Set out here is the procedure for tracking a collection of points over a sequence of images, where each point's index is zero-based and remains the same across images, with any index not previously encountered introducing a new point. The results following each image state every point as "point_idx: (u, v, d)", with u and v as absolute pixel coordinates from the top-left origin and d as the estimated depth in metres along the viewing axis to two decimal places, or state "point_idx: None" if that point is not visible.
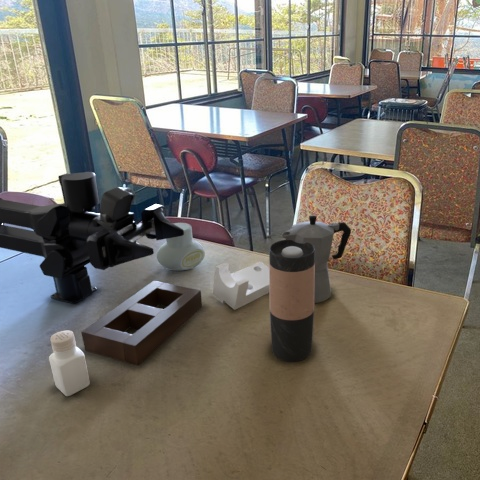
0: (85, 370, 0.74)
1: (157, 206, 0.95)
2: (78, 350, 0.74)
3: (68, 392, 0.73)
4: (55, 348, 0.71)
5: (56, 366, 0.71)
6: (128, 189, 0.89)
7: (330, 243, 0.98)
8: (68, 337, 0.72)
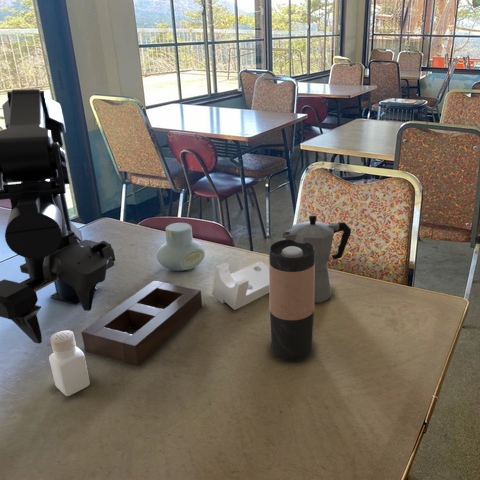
0: (85, 370, 0.74)
1: None
2: (78, 350, 0.74)
3: (68, 392, 0.73)
4: (55, 348, 0.71)
5: (56, 366, 0.71)
6: None
7: (330, 243, 0.98)
8: (68, 337, 0.72)
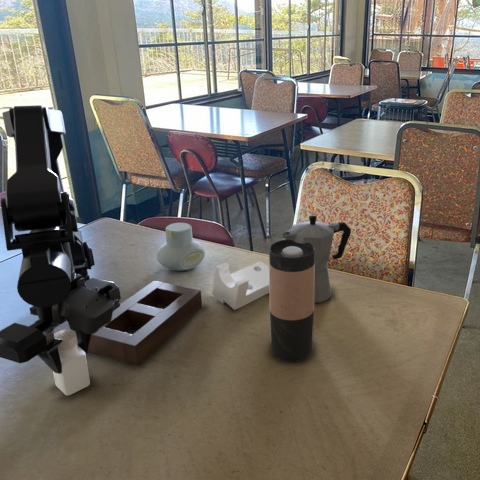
0: (86, 370, 0.74)
1: None
2: (79, 349, 0.74)
3: (68, 391, 0.73)
4: None
5: None
6: (116, 308, 0.70)
7: (330, 243, 0.98)
8: (70, 335, 0.72)
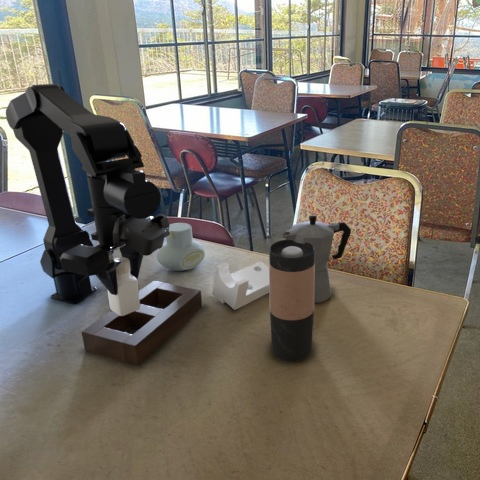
0: (137, 294, 0.83)
1: None
2: (131, 276, 0.83)
3: (122, 312, 0.82)
4: None
5: None
6: None
7: (330, 243, 0.98)
8: (124, 261, 0.81)
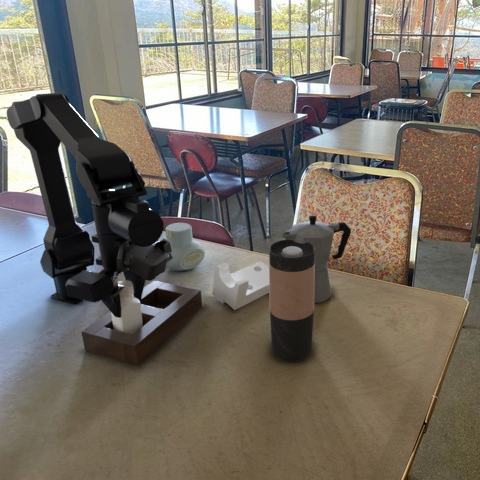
0: (140, 316, 0.85)
1: None
2: (135, 298, 0.85)
3: None
4: None
5: None
6: (169, 260, 0.81)
7: (330, 243, 0.98)
8: (128, 285, 0.83)
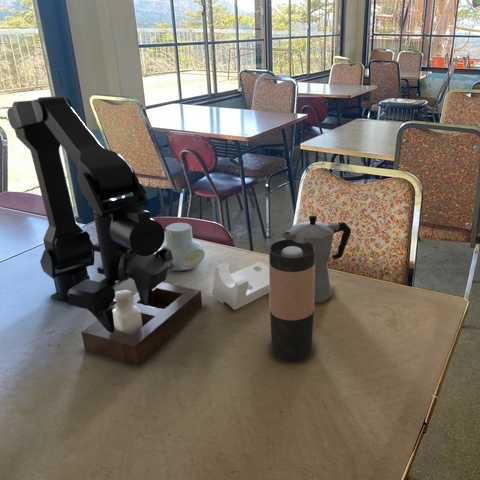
0: (141, 325, 0.86)
1: None
2: (135, 307, 0.85)
3: None
4: (117, 304, 0.83)
5: (118, 320, 0.83)
6: None
7: (330, 243, 0.98)
8: (127, 294, 0.83)
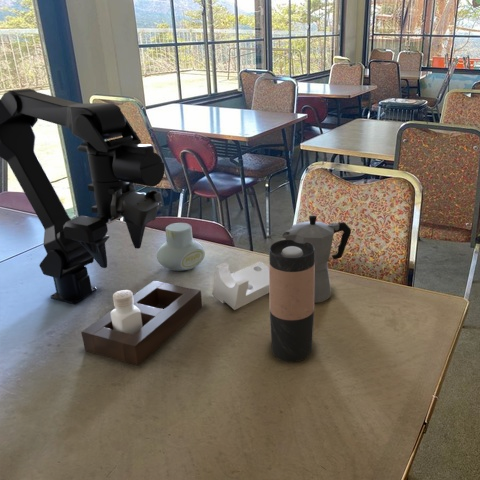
0: (141, 325, 0.86)
1: None
2: (135, 307, 0.85)
3: None
4: (117, 304, 0.83)
5: (118, 320, 0.83)
6: (159, 209, 0.87)
7: (330, 243, 0.98)
8: (127, 294, 0.83)
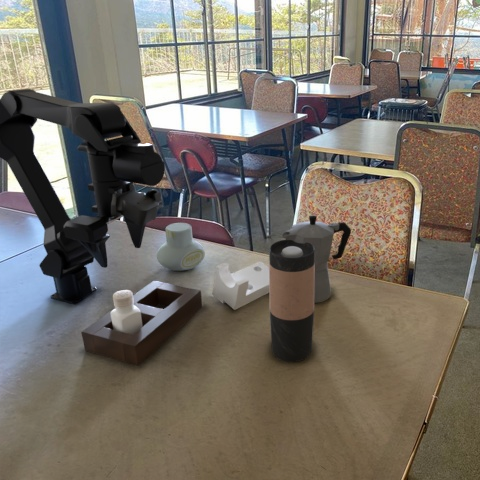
0: (141, 325, 0.86)
1: None
2: (135, 307, 0.85)
3: None
4: (117, 304, 0.83)
5: (118, 320, 0.83)
6: None
7: (330, 243, 0.98)
8: (127, 294, 0.83)
